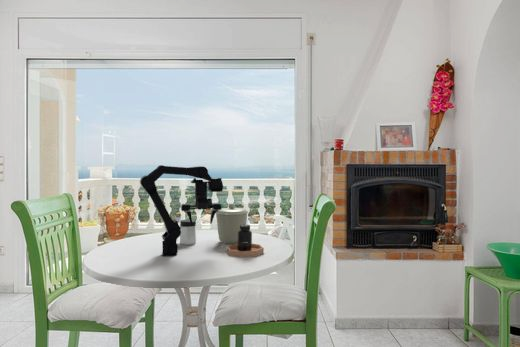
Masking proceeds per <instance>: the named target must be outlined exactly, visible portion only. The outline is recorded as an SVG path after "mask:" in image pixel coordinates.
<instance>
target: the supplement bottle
mask: <svg viewBox="0 0 520 347" xmlns="http://www.w3.org/2000/svg"><path fill="white" fill-rule="evenodd" d="M252 240H253V232H252V230H251V225H250V224H246V225H240V231H239V232H238V243H236V244H237V249H238V251H251V249H252V244H253V241H252Z"/></svg>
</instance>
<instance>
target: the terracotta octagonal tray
mask: <svg viewBox="0 0 520 347" xmlns="http://www.w3.org/2000/svg"><path fill="white" fill-rule="evenodd" d="M237 244H238V243H235V244H230V245H226V247H225V248H226V251H225V252H226V253H227V254H228V256H230V257H231V256H232V257H238V258H249V257H250V258H251V257H258V256H260V255H262V254H264V247H263V245H261V244H258V243H252V249H251V251H238V249H237Z"/></svg>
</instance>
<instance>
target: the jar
mask: <svg viewBox="0 0 520 347" xmlns="http://www.w3.org/2000/svg"><path fill="white" fill-rule="evenodd" d="M179 224H180V225H179V227H180V228H181V229H180V230H181V234H180V236H179V238H180V239H179V245H185V246H188V245H196V242H197V221H196V220H195V219H192V225H191V223H190V220H189V219H182V220H180V221H179Z"/></svg>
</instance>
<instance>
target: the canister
mask: <svg viewBox="0 0 520 347" xmlns="http://www.w3.org/2000/svg"><path fill="white" fill-rule="evenodd" d="M227 206H228V207H221V210H219V211H218V212H216V213H215V215H216V225H217V232H218V233H217V234H218V239H219V241H220V242H221V243H223V244H228V245H229V244H230V245H232V244H238V232H239V231H240V225H247V222H248V221H247V220H248V213H249V211H248V210H247V209H245V208H243V207H236V204H235V203H234V202H230V203H228V205H227Z"/></svg>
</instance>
